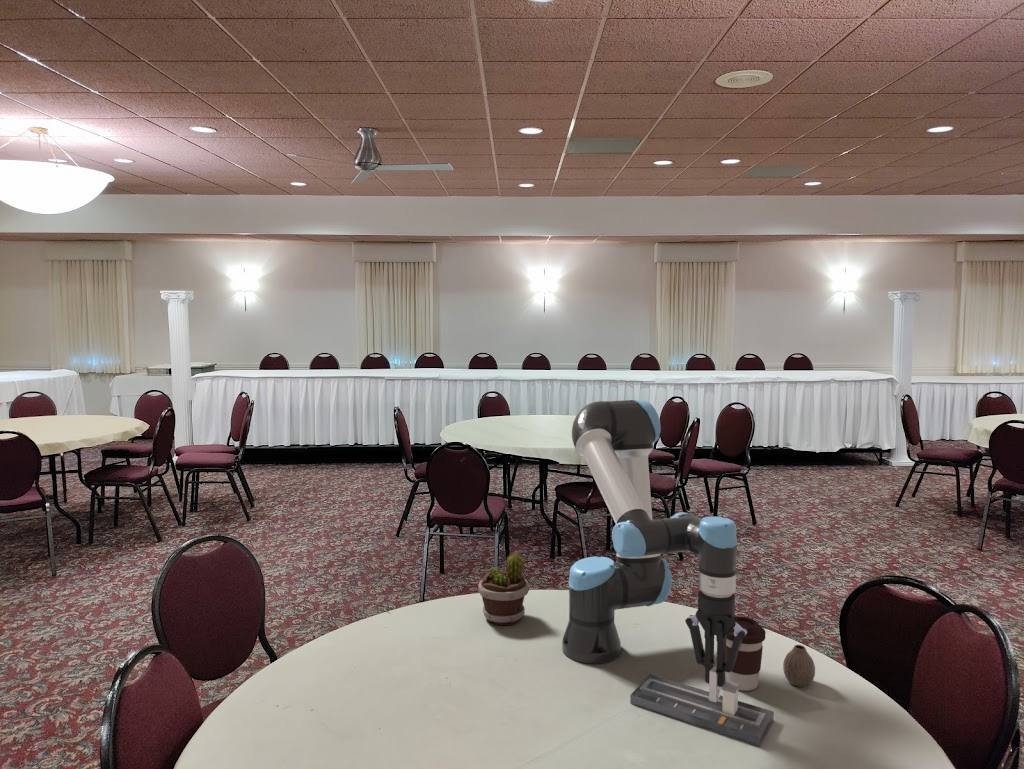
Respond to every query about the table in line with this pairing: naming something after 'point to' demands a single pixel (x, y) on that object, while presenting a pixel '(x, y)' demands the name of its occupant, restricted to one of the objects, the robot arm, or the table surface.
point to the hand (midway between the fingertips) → (714, 698)
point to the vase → (799, 667)
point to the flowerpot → (504, 592)
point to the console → (702, 709)
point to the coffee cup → (746, 655)
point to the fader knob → (730, 697)
